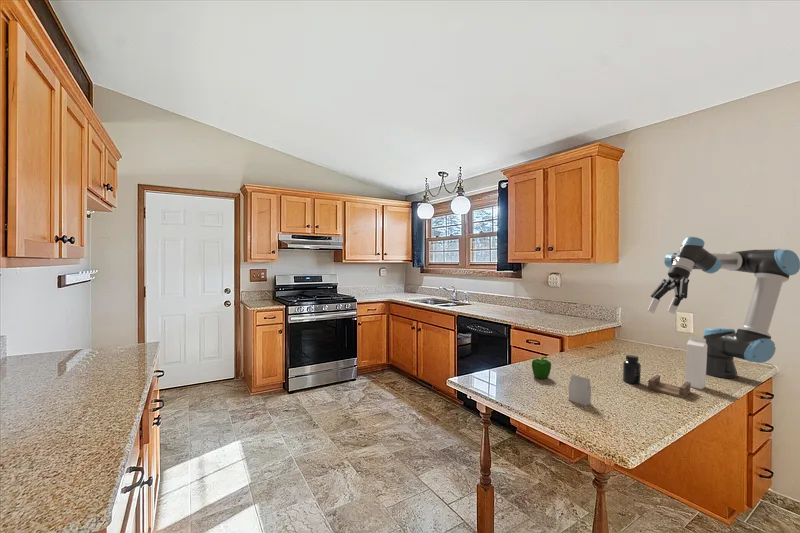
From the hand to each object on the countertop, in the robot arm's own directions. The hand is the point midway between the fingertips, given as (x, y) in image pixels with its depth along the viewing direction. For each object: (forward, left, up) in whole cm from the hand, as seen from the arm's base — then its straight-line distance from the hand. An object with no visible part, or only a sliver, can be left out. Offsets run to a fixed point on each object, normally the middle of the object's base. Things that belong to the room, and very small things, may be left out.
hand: (660, 312), depth 161 cm
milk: (-16, +11, -33) cm, 38 cm away
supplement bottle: (+2, -9, -33) cm, 35 cm away
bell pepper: (+30, -38, -33) cm, 59 cm away
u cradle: (+1, +5, -33) cm, 34 cm away
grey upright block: (+46, -14, -33) cm, 59 cm away
